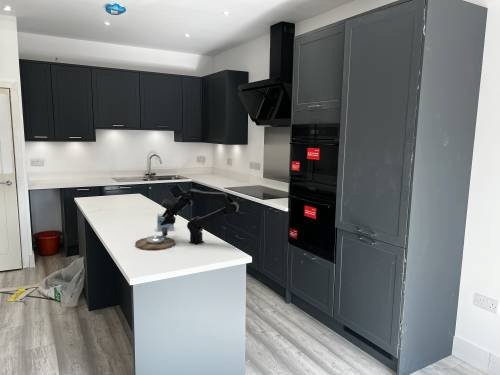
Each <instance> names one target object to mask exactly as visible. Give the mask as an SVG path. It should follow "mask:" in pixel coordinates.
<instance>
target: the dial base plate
mask: <svg viewBox="0 0 500 375" xmlns="http://www.w3.org/2000/svg"><path fill="white" fill-rule="evenodd" d="M146 238H147V237H143V238H139V239H137V240H136V241H135V243H134V244H135V247H136V248H137V249H139V250H142V251H143V250H144V251H161V250H167V249H168V250H169V249H171V248H174V247H175V245H176V240H175V239H174V238H171V237H169V236H166V239H164V242H163V243H160V244H149V243H147V242H146Z"/></svg>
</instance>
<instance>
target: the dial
mask: <svg viewBox="0 0 500 375" xmlns="http://www.w3.org/2000/svg"><path fill="white" fill-rule="evenodd" d="M161 232H162V233H161V235H149V236H147V237H145V238H146V242H147V243H149V244H160V243H163V242H164V239H166V237H167V236H168V233H169V231H168V227H162V231H161Z"/></svg>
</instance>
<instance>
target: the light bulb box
mask: <svg viewBox="0 0 500 375" xmlns="http://www.w3.org/2000/svg"><path fill="white" fill-rule="evenodd" d="M163 214H164V212H158V213H157V214H156V216H157V218H156V220H157V221H156V223H157V224H156V229H157V232H162V227H168V232H174V230H175V223H174V224H166V225H162V226H161V225H160V224H161V222H162V221H163V220H164V219H165V217H162V215H163Z"/></svg>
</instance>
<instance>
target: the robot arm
mask: <svg viewBox="0 0 500 375" xmlns="http://www.w3.org/2000/svg"><path fill="white" fill-rule="evenodd" d="M168 192H169V193H170V194H171V196H172V197H173V199H177V200H174V201H172V200H171V199H167V198H164V199H163V201H162V202H161V207H162V208H165V210H164V212H163V213H164V214H163V215H162V217H165V219H164V220H163V221H162V222H161V224H160V225H161V226H162V225H166V224H174V225H175V223H176V219H177V218H176V217H178V214H179V213H180V212H181V213H182V212H183V209H185V208H186V207H187V206H189V207H192V206H193V201H195V200H201V199H202V200H216V201H217V200H218V201H220V202H222V204H223V205H224V207H222V208H221V209H218V210H216V211H214V212H211V213H209V214H207V215H204V216H202V217H200V216H199V215H198V216H195V217H192V218H191V219H189V221H188V222H187V224H186V227H187V230H188V231H189V238H190V239H189V241H188V244H194V245H200V244H203V243H205V241H204V240H203V232H202V231H204V227H203V225H204V224H207V223H210V222H211V221H214V220H216V219H218V218H221V217H224V216H227V215H232V214H235V213H236V212H238V210H239V208H240V205H239V203H238V202H237V201H234V199H233V198H232V197H230V196H229V195H228V194H227V193H226V192H214V191H203V190H199V189H196V188H191V189H189V190H183V188H182V187H181V186H180V184H176V185H175V186H173V187H171V188H170V189H169V190H168Z"/></svg>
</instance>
